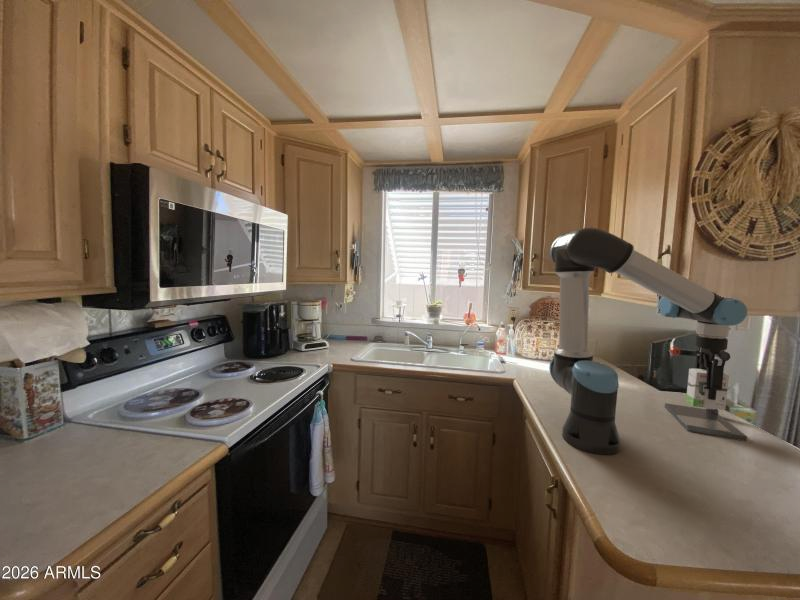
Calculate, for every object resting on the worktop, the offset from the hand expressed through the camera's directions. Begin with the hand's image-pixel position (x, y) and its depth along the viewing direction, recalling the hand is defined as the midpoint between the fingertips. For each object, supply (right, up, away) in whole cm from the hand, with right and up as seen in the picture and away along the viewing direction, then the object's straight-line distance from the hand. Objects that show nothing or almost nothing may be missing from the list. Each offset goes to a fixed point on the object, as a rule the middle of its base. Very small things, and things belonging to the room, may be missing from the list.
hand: (704, 404), depth 107 cm
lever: (+6, +14, +9) cm, 18 cm away
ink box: (0, 0, 0) cm, 0 cm away
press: (+4, -8, +5) cm, 10 cm away
